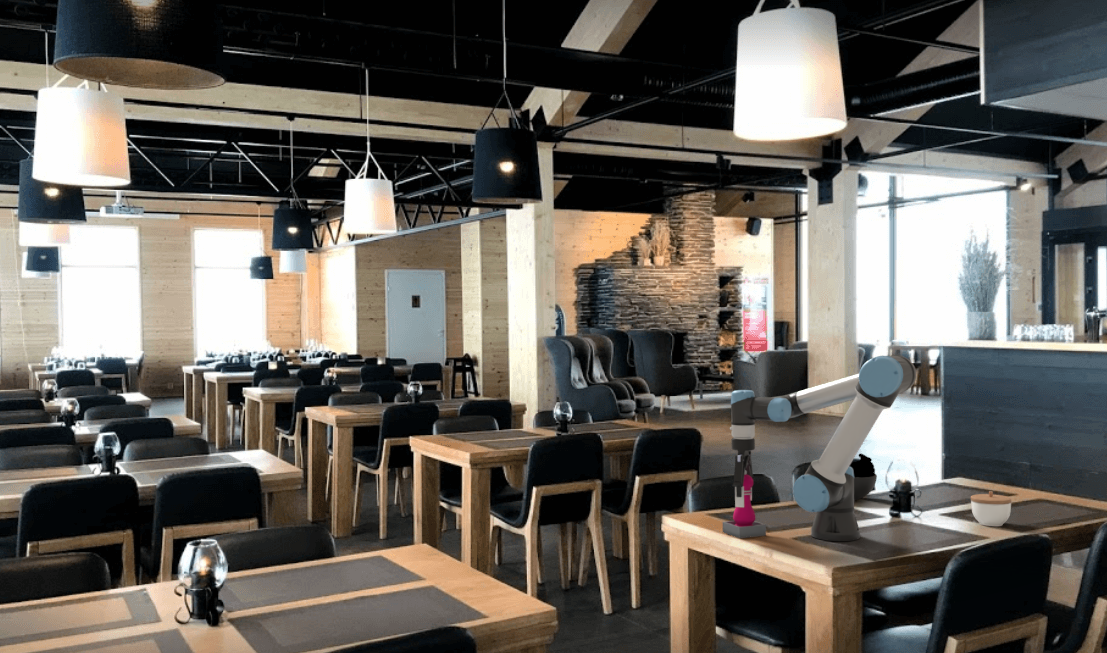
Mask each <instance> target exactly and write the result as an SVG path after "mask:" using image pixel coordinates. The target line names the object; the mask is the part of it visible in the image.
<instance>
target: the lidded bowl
mask: <svg viewBox="0 0 1107 653" xmlns="http://www.w3.org/2000/svg"><path fill="white" fill-rule="evenodd" d="M970 506H971V512H972V515H973V517H974V518H975V520H976V521H978V523H979V525H982V526H985V527H986V526H987V527H1002V526H1003V524H1005V523H1006V522H1007V521H1008V519H1009V518H1010V515H1011V510H1012V509H1011V508H1012V497H1010V496H1006V495H1001V494H994V492H993V491H988V493H981V494H980V493H978V494H973V495H971V496H970Z"/></svg>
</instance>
